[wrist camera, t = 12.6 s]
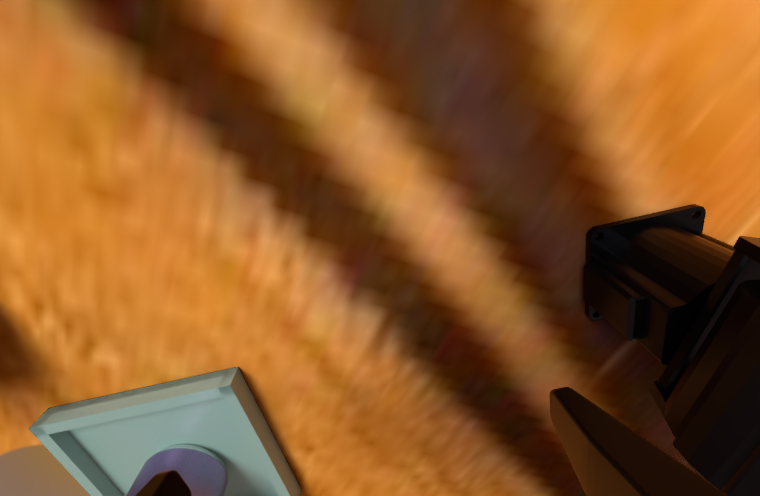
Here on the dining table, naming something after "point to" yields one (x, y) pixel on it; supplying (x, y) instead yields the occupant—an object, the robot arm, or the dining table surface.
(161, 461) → the beverage can
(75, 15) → the dining table surface
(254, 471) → the tray
